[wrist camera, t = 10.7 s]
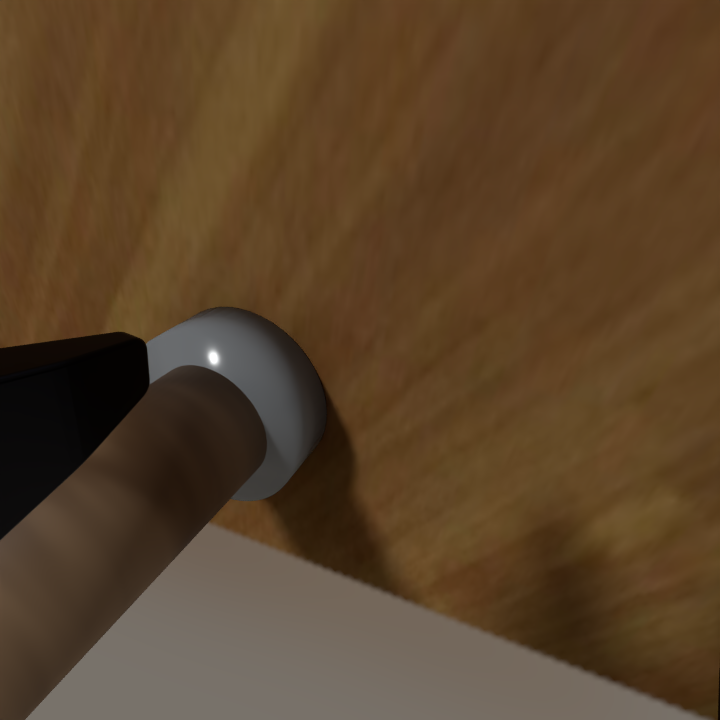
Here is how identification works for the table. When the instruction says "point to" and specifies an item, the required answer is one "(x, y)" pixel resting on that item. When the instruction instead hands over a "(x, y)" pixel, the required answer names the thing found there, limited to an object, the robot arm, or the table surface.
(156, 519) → the walnut cylinder
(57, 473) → the robot arm
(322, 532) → the table surface
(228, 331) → the slate pedestal
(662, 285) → the table surface
